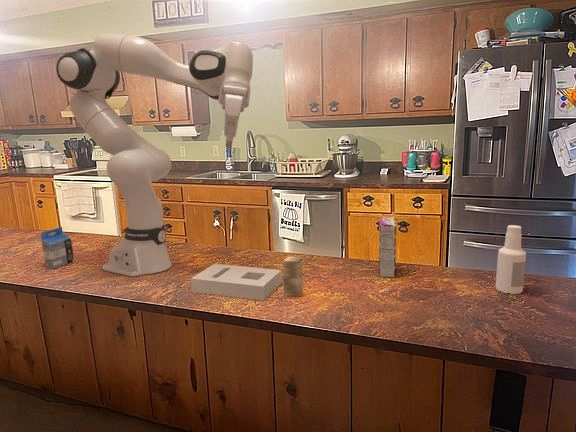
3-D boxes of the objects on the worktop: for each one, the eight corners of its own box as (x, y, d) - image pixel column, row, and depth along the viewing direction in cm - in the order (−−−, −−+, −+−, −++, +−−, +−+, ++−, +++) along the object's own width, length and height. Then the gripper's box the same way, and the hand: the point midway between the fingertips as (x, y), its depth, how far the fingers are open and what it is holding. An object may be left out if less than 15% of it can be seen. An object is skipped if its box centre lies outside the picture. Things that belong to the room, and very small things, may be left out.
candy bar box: (378, 266, 147) (379, 216, 144) (394, 266, 146) (395, 217, 143) (378, 277, 136) (379, 224, 133) (395, 278, 135) (397, 224, 132)
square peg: (284, 295, 123) (283, 260, 121) (288, 290, 127) (288, 256, 125) (297, 297, 122) (297, 261, 120) (302, 292, 125) (302, 257, 123)
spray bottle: (524, 295, 120) (530, 230, 116) (496, 293, 122) (501, 228, 119) (521, 287, 126) (526, 224, 123) (494, 284, 129) (499, 223, 125)
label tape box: (53, 269, 149) (49, 233, 147) (44, 268, 151) (40, 232, 148) (74, 261, 157) (70, 227, 155) (65, 260, 159) (61, 226, 156)
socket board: (191, 291, 127) (190, 278, 126) (215, 275, 140) (214, 263, 139) (263, 300, 120) (263, 286, 119) (281, 283, 133) (281, 270, 132)
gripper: (222, 107, 140) (217, 151, 139) (223, 83, 120) (217, 133, 119) (242, 110, 141) (238, 153, 140) (247, 87, 121) (241, 137, 120)
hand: (228, 144), depth 129 cm, fingers open, 8 cm apart
